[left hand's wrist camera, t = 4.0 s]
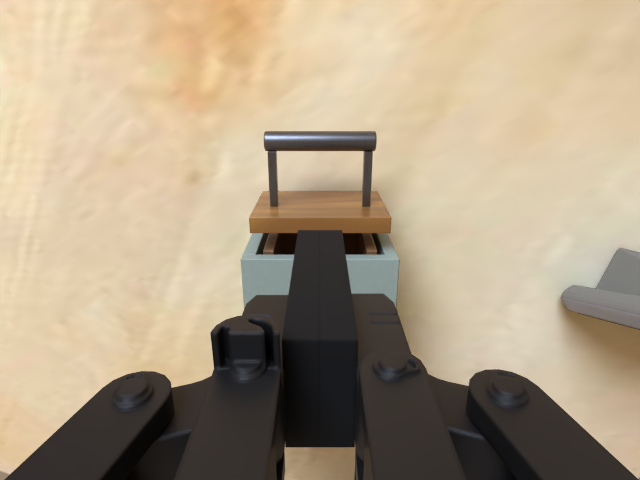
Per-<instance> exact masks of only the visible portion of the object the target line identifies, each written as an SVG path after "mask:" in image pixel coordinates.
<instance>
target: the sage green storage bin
mask: <svg viewBox="0 0 640 480" xmlns="http://www.w3.org/2000/svg"><path fill="white" fill-rule="evenodd" d="M268 235H269V233H253V234H252V236H251V238H250V240H249V242H248V245H247V247H246V249H245V251H244V254H243V256H242V258H241V269H242V283H243V297H244V309H245V306H246V304H247V303H248V302H249V301H250V300H251V299H252V298H254V297H255V296H256V295H288V294H289V287H290V280H291V274H292V267H293V260H294V255H263V250H264V247H265V244H266V241H267V238H268ZM371 235H372V238H373V241H374V244H375V246H376V249H377V255H346V260H347V267H348V274H349V280H350V287H351V294H385V295H386V296H387V297H388V298H389V299H390V300H392V301H393V302H394V304H395V307H396V301H397V287H398V273H399V258H398V255H397V253H396V251H395V249H394V247H393V244H392V242H391V240H390V238H389V236H388V233H371Z"/></svg>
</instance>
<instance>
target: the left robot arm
mask: <svg viewBox="0 0 640 480" xmlns="http://www.w3.org/2000/svg"><path fill="white" fill-rule="evenodd" d="M211 342H212V351H213V361H214V371H213V374H212V376H211V377H209V378H206V379H204V380H202V381H199V382H195V383H192V384H188V385H183V386H179V387H174V388H171V382H170V381H169V380H168V378H167V377H166V376H165V375H163V374H160V373H157V372H147V371H141V372H136V373H131V374H127V375H125V376H122V377H120V378H118V379H115V380H113V381H112V382H110V383H109V384H108V385H106V386H105V387H103V388H102V389H101V390H100V391H99V392H98V393H97V394H96V395H95V396H94V397H92V398H91V399H90V400H89V401H88V402H87V403H86V404H85V405H84V406H83V407H82V408H81V409H80V410H79V411H78V412H76V413H75V414H74V415H73V416H72V417H71V418H70V419H69V420H68V421H67V422H66V423H65V424H64V425H63V426H62V427H60V428H59V429H58V430H57V431H56V432H55V433H54V434H53V435H52V436H51V437H50V438H49V439H48V440H47V441H45V442H44V443H43V444H42V445H41V446H40V447H39V448H38V449H37V450H36V451H35V452H34V453H33V454H32V455H31V456H29V457H28V458H27V459H26V460H25V461H24V462H23V463H22V464H21V465H20V466H19V467H18V468H17V469H16V470H14V471H13V472H12V473H11V474H10V475H9V476H8V477H7V478H6V479H5V480H284V474H285V456H284V448H285V445H286V447H354V445H355V446H356V456H355V480H638V479H637V478H636V477H635V476H634V475H633V474H632V473H631V472H630V471H629V470H628V469H627V468H625V467H624V466H623V465H622V464H621V463H620V462H619V461H618V460H617V459H616V458H615V457H614V456H613V455H611V454H610V453H609V452H608V451H607V450H606V449H605V448H604V447H603V446H602V445H601V444H600V443H599V442H597V441H596V440H595V439H594V438H593V437H592V436H591V435H590V434H589V433H588V432H587V431H586V430H585V429H583V428H582V427H581V426H580V425H579V424H578V423H577V422H576V421H575V420H574V419H573V418H572V417H571V416H569V415H568V414H567V413H566V412H565V411H564V410H563V409H562V408H561V407H560V406H559V405H558V404H557V403H555V402H554V401H553V400H552V399H551V398H550V397H549V396H548V395H547V394H546V393H545V392H544V391H543V390H541V389H540V388H539V387H538V386H537V385H535V384H534V383H533V382H531V381H530V380H528V379H527V378H525V377H522V376H520V375H518V374H515V373H513V372H508V371H503V370H484V371H481V372H478V373H475V375H474V376H473V377H472V378H471V379H470V382H469V386H465V385H461V384H456V383H451V382H447V381H444V380H440V379H437V378H435V377H433V376H431V375H429V374H428V373H427V370H426V368H425V366H424V365H423V363H422V362H421V361H420V360H419V359H418V358H416V357H415V356H413V355H412V354H411V352H410V349H409V346H408V343H407V340H406V337H405V334H404V331H403V328H402V325H401V322H400V319H399V316H398V313H397V310H396V307H395V304H394V302H393V301H392V300H390V299H389V298H388V297H387V296H386V295H385V294H351V287H350V280H349V274H348V267H347V260H346V253H345V247H344V240H343V233H342V230H298V233H297V240H296V247H295V253H294V260H293V267H292V274H291V280H290V287H289V294H288V295H256V296H255V297H254V298H252V299H251V300H250V301H249V302H248V303H247V304H246V306H245V309H244V312H243V316H237V317H233V318H230V319H227V320H225V321H223V322H221V323H220V324H218V325H216V326H215V328H214V329H213V330H212V332H211Z"/></svg>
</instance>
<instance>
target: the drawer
mask: <svg viewBox="0 0 640 480" xmlns="http://www.w3.org/2000/svg"><path fill="white" fill-rule="evenodd" d="M264 148H265V151H268V169H269V191H263V192H262V194H261V196H260V198H259V200H258V202H257V204H256V206H255V208H254V210H253V211H252V213H251V215H250V217H249V224H250V233H269V235H268V238H267V241H266V244H265V247H264V250H263V255H294V253H295V247H296V240H297V233H298V230H342V233H343V240H344V247H345V253H346V255H377V249H376V246H375V244H374V241H373V238H372V235H371V233H390V229H391V217H390V215H389V213H388V211H387V209H386V207H385V205H384V203H383V201H382V199H381V198H380V196H379V194H378V192H377V191H371V177H372V154H373V152H372V151H375V149H376V132H375V131H266V132H265V133H264ZM277 151H364V159H363V187H362V191H278V179H277Z"/></svg>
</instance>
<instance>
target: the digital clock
mask: <svg viewBox="0 0 640 480" xmlns="http://www.w3.org/2000/svg"><path fill="white" fill-rule="evenodd" d="M561 300H562V302H563V304H564V305H565V307H566V309H567V310H570V311H574V312H578V313H579V314H582V315H586V316H590V317H594V318H597V319H601V320H605V321H609V322H612V323H616V324H620V325H624V326H627V327H631V328H635V329H639V330H640V253H639V252H635V251H631V250H627V249H624V248H619V249H618V250H617V252H616V253H615V255H614V257H613V259H612V261H611V262H610V264H609V266H608V268H607V270H606V271H605V273H604V275H603V277H602V279H601V281H600V282H599V284H598V286H597V288H596V289H594V288H588V287H582V286H576V285H573V286H571V287H569V288H568V289H566V290H565V291H564V292H563V294H562V296H561Z"/></svg>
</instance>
